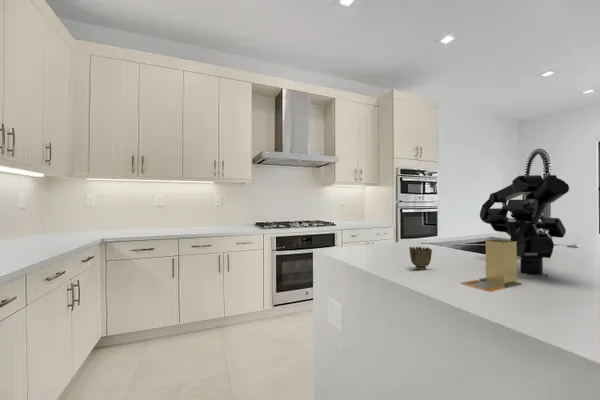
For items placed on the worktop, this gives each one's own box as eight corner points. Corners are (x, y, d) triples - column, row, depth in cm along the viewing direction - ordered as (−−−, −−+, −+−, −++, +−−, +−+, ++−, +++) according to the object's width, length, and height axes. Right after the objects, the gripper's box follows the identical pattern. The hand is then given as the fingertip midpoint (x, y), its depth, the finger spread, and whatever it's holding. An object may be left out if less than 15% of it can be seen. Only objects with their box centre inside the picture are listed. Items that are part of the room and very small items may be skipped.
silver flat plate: (492, 280, 87) (492, 276, 87) (522, 287, 79) (522, 283, 79) (460, 287, 80) (460, 282, 80) (489, 295, 73) (489, 290, 73)
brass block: (498, 278, 85) (498, 239, 85) (516, 283, 80) (516, 241, 80) (485, 281, 82) (485, 240, 82) (504, 285, 78) (503, 242, 78)
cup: (434, 273, 95) (434, 250, 95) (411, 272, 97) (411, 249, 97) (429, 268, 103) (428, 246, 103) (407, 267, 104) (407, 246, 104)
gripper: (490, 191, 95) (470, 225, 90) (560, 189, 78) (539, 231, 74) (504, 213, 98) (485, 247, 94) (574, 216, 81) (554, 258, 77)
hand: (512, 245), depth 84 cm, fingers closed
